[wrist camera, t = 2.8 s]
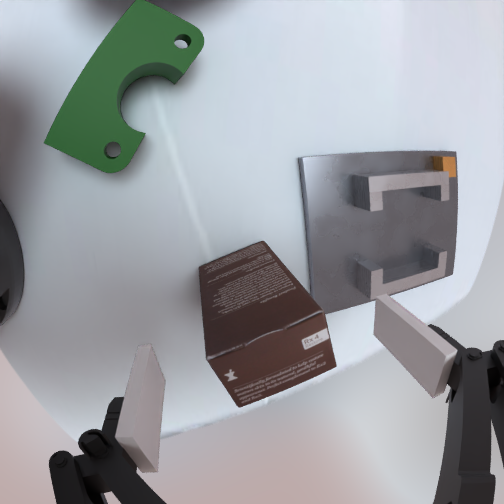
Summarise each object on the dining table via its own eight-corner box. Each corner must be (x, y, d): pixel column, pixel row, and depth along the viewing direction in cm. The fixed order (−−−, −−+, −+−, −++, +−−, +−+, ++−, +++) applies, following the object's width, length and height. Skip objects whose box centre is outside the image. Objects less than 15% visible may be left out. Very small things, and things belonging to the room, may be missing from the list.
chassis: (311, 311, 27) (326, 330, 24) (298, 157, 23) (314, 157, 20) (447, 271, 29) (466, 282, 26) (449, 151, 25) (472, 152, 22)
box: (218, 310, 25) (236, 412, 14) (197, 265, 24) (199, 353, 13) (282, 284, 26) (340, 369, 14) (266, 238, 24) (323, 303, 13)
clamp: (135, 145, 24) (110, 200, 18) (81, 119, 21) (37, 165, 15) (211, 35, 18) (213, 38, 12) (150, 2, 15) (120, -10, 9)
